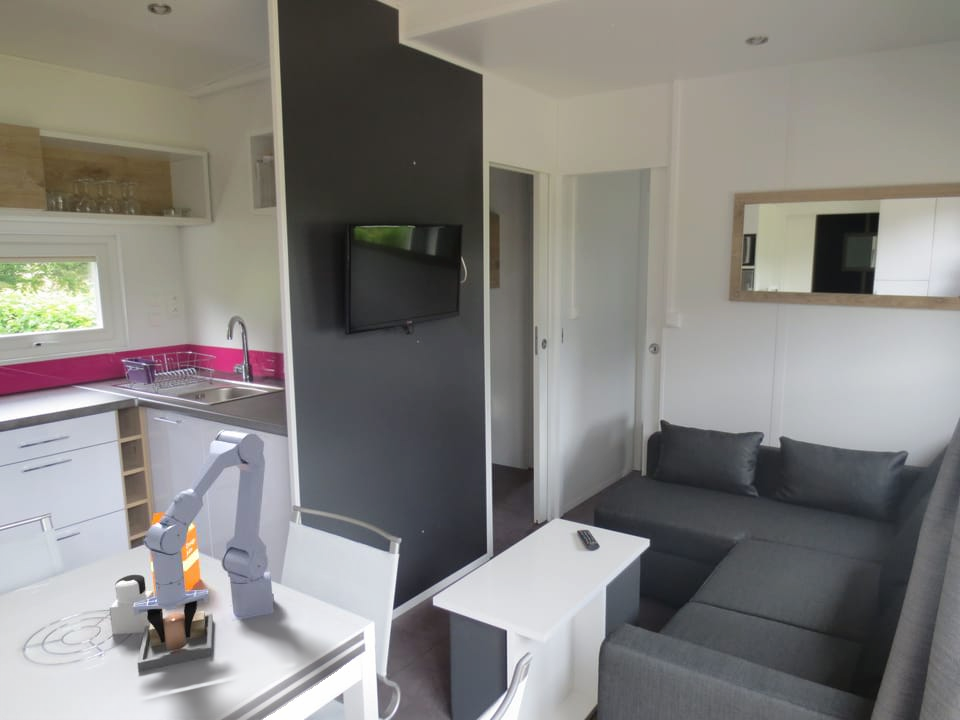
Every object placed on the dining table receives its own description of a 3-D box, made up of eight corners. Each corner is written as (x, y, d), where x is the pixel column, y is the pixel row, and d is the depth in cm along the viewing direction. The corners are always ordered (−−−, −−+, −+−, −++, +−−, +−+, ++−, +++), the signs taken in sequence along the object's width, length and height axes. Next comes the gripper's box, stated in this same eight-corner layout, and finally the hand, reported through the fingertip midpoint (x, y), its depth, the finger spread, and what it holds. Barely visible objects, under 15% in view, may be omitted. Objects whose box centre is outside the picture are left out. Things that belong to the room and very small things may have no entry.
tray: (213, 623, 158) (212, 613, 158) (211, 658, 144) (210, 647, 144) (146, 636, 153) (145, 626, 153) (138, 674, 139) (137, 662, 139)
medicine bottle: (125, 620, 161) (120, 572, 159) (157, 618, 161) (151, 570, 159) (112, 636, 154) (106, 587, 152) (145, 634, 154) (139, 585, 152)
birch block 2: (205, 626, 155) (204, 610, 155) (205, 635, 152) (203, 619, 151) (186, 630, 154) (185, 614, 153) (185, 639, 150) (184, 622, 150)
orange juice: (188, 593, 173) (180, 518, 170) (153, 593, 173) (145, 519, 170) (201, 578, 180) (194, 506, 177) (168, 579, 181) (160, 507, 178)
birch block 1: (172, 633, 153) (170, 616, 152) (171, 642, 149) (169, 625, 149) (153, 637, 152) (151, 620, 151) (151, 646, 148) (149, 629, 147)
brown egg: (187, 636, 149) (185, 611, 148) (187, 647, 145) (185, 621, 144) (165, 641, 147) (162, 616, 146) (165, 652, 143) (162, 626, 142)
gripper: (128, 593, 137) (136, 655, 140) (205, 580, 142) (211, 640, 144) (133, 578, 144) (140, 637, 146) (206, 566, 149) (212, 623, 151)
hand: (175, 637), depth 146 cm, fingers closed on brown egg, 4 cm apart
